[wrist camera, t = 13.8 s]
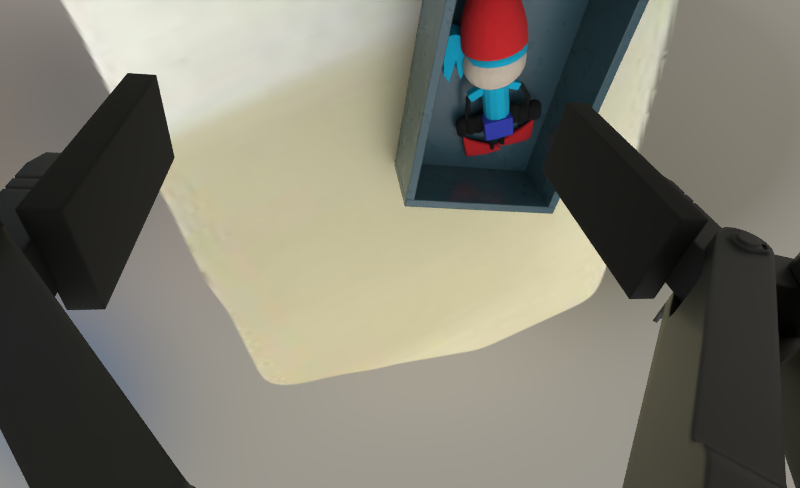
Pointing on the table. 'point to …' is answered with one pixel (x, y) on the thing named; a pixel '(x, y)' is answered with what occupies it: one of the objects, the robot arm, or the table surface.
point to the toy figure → (492, 72)
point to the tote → (544, 80)
